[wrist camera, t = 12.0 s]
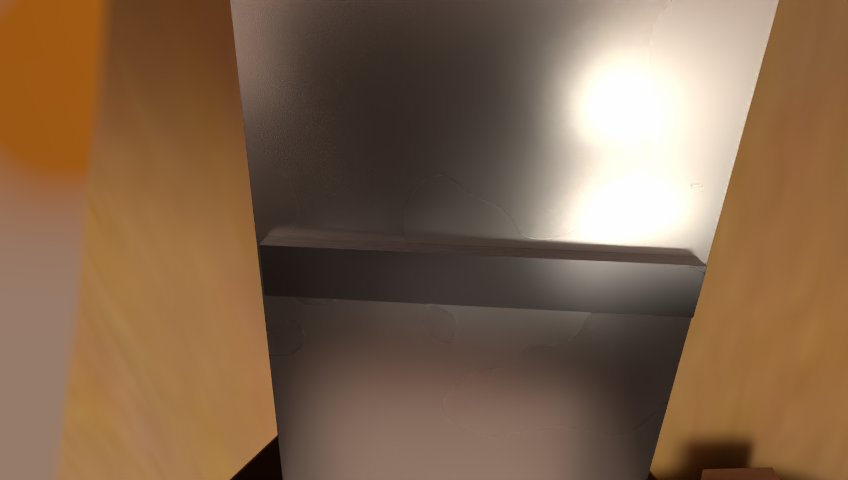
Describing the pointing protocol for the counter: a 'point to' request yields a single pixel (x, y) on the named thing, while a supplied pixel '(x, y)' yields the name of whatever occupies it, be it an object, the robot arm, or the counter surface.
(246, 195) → the counter surface
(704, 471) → the flat round disc
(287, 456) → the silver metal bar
